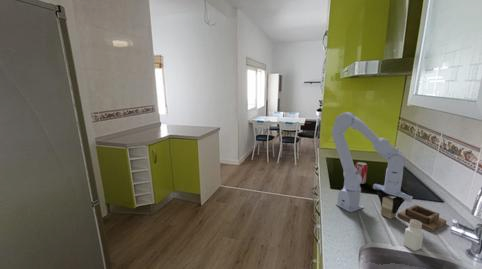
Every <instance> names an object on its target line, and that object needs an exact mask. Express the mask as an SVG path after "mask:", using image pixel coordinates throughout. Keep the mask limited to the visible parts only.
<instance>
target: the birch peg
mask: <svg viewBox="0 0 482 269" xmlns="http://www.w3.org/2000/svg"><path fill="white" fill-rule="evenodd" d="M393 198H395V196H392V195H390V194H389V195H388V196H385V197H383V201H382V208H381V209H380V215H381V216H384V217H385V218H387V219H390V220H391V219H394V218H396V217H397V213H395V214H394V213H393V212H392V211H393Z"/></svg>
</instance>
